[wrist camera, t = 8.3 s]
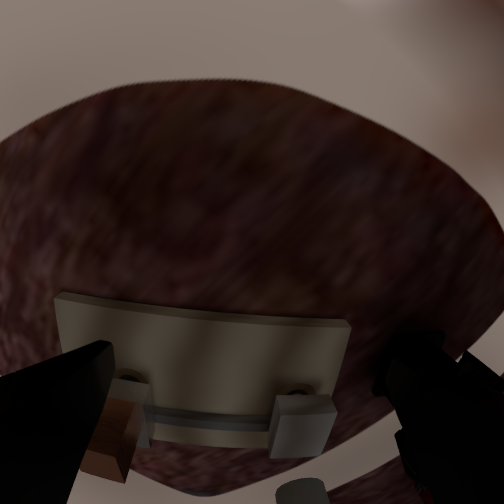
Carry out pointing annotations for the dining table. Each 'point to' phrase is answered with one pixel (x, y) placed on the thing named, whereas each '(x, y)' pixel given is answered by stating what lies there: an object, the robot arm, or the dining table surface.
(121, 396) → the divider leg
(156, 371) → the board
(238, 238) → the dining table surface
